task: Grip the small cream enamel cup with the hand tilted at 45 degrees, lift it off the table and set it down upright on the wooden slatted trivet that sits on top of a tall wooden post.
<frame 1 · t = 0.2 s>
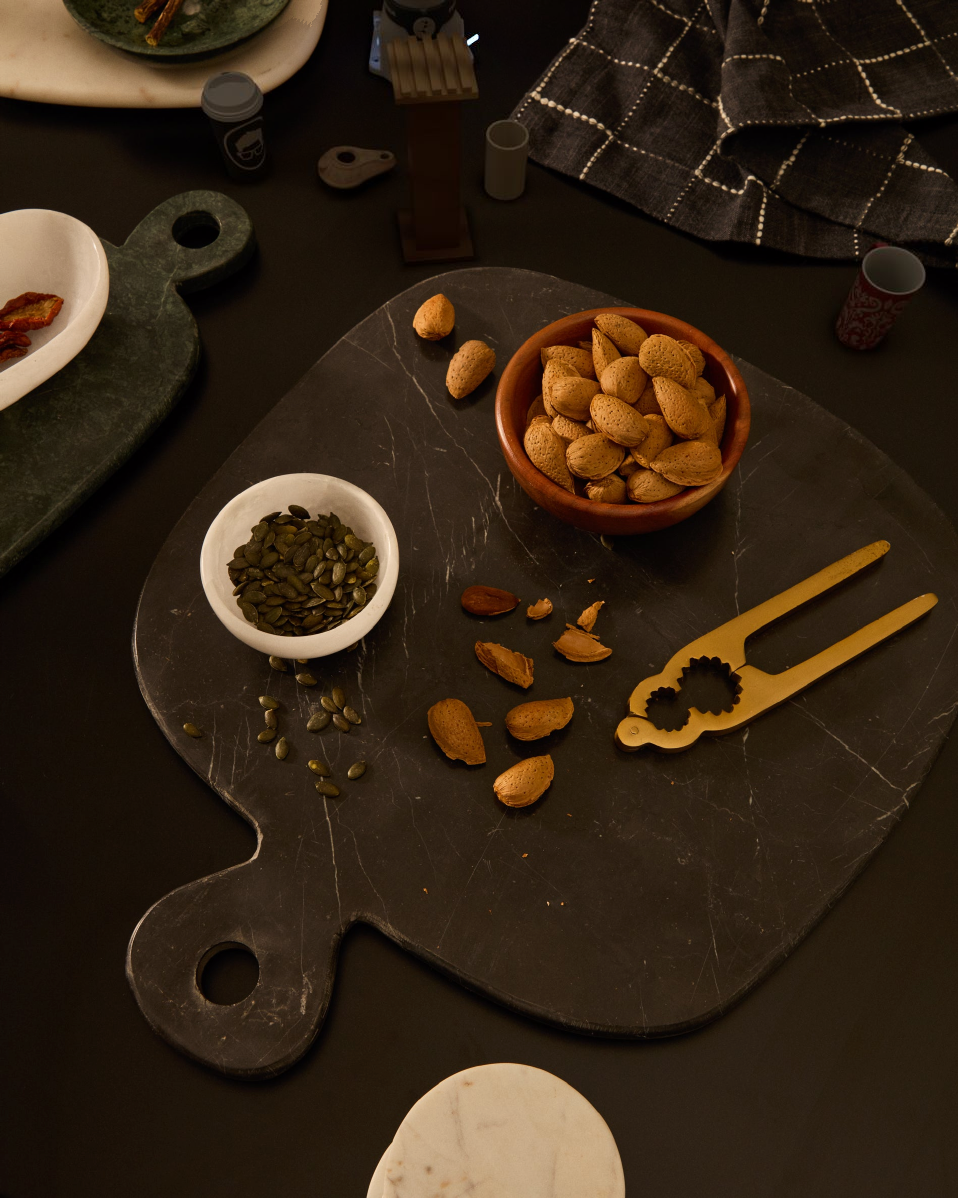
coffee cup: (248, 169, 163), on the table
wooden slatted trivet: (431, 66, 130), resting on rack stand
enamel cup: (504, 185, 163), on the table
pottery oil lamp: (358, 181, 162), on the table
rack stand: (435, 237, 157), on the table
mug: (856, 324, 152), on the table
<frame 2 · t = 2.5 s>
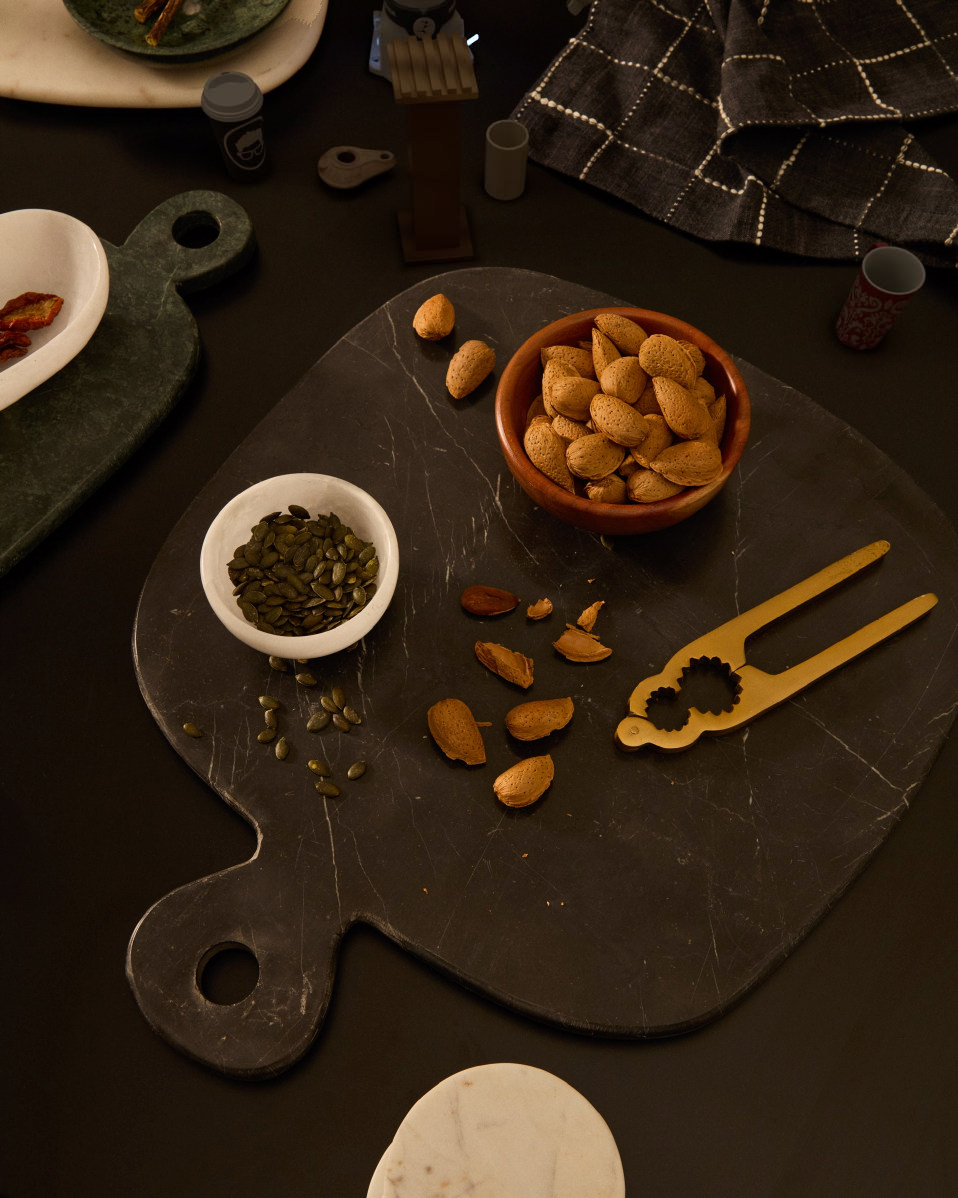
nothing on the table moved.
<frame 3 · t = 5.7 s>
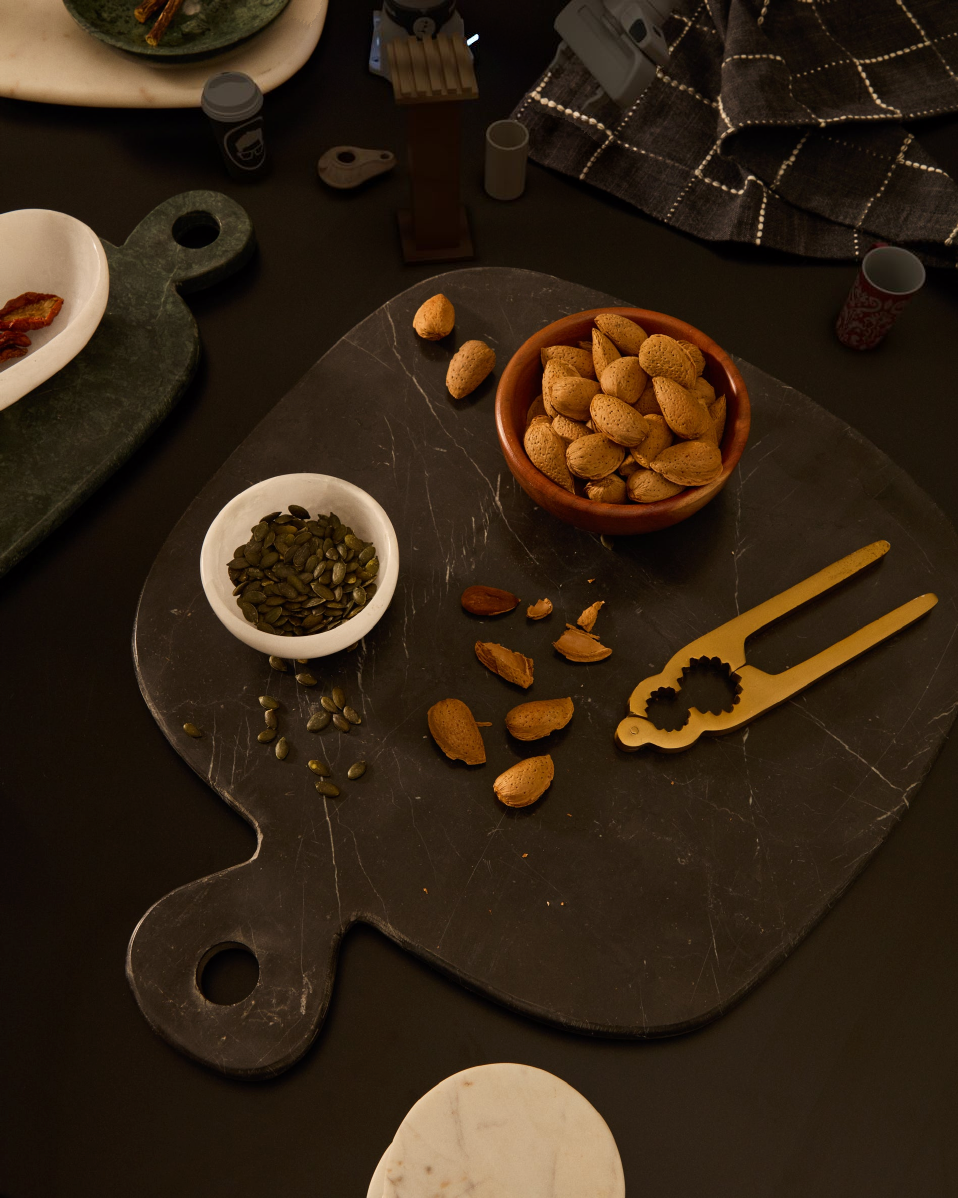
hand: (566, 92, 152), 14 cm above the table, tool tilted 45°, fingers open, 8 cm apart
nothing on the table moved.
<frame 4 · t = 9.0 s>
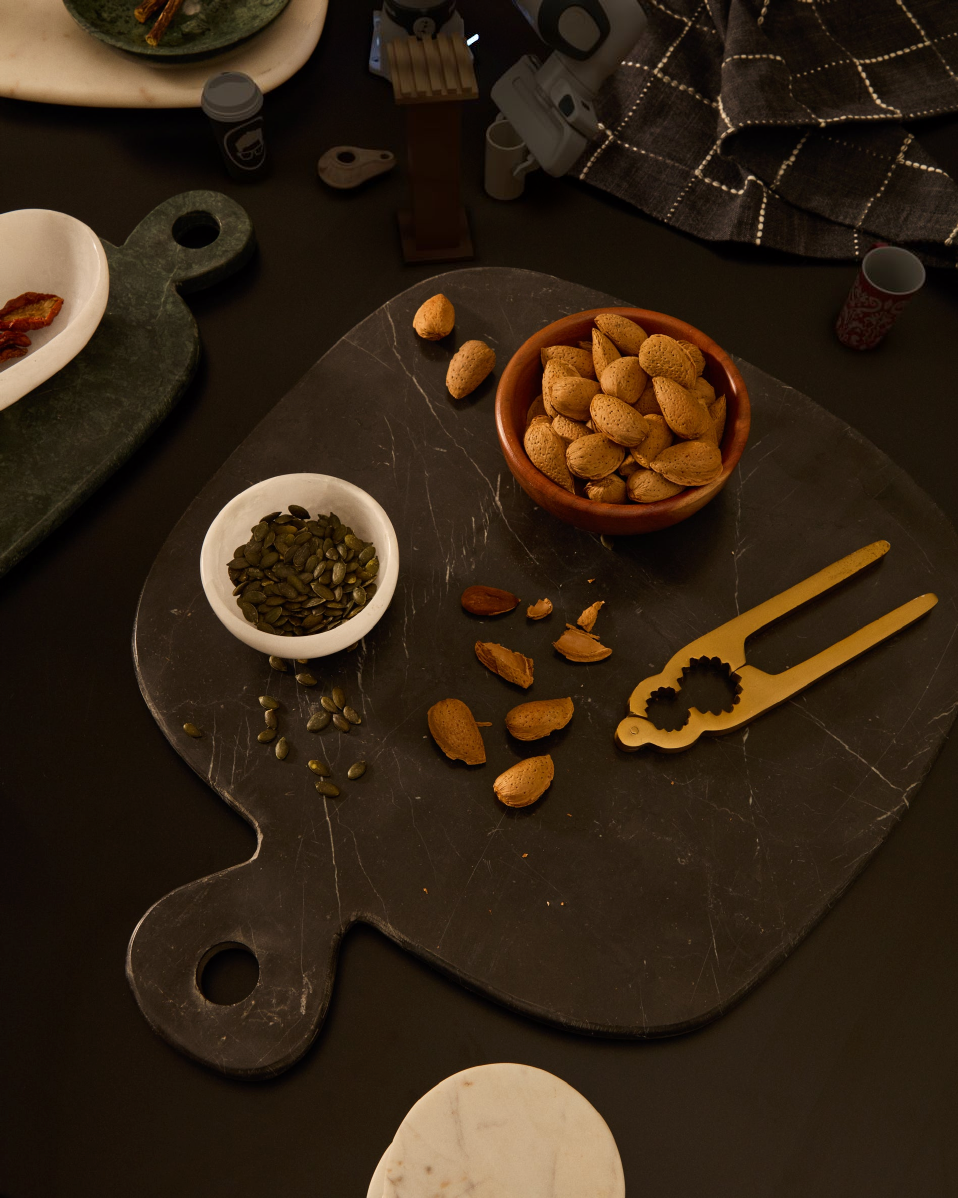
hand: (502, 159, 158), 5 cm above the table, tool tilted 45°, fingers closed on enamel cup, 7 cm apart
enamel cup: (504, 185, 163), on the table, touching gripper
everything else where it was.
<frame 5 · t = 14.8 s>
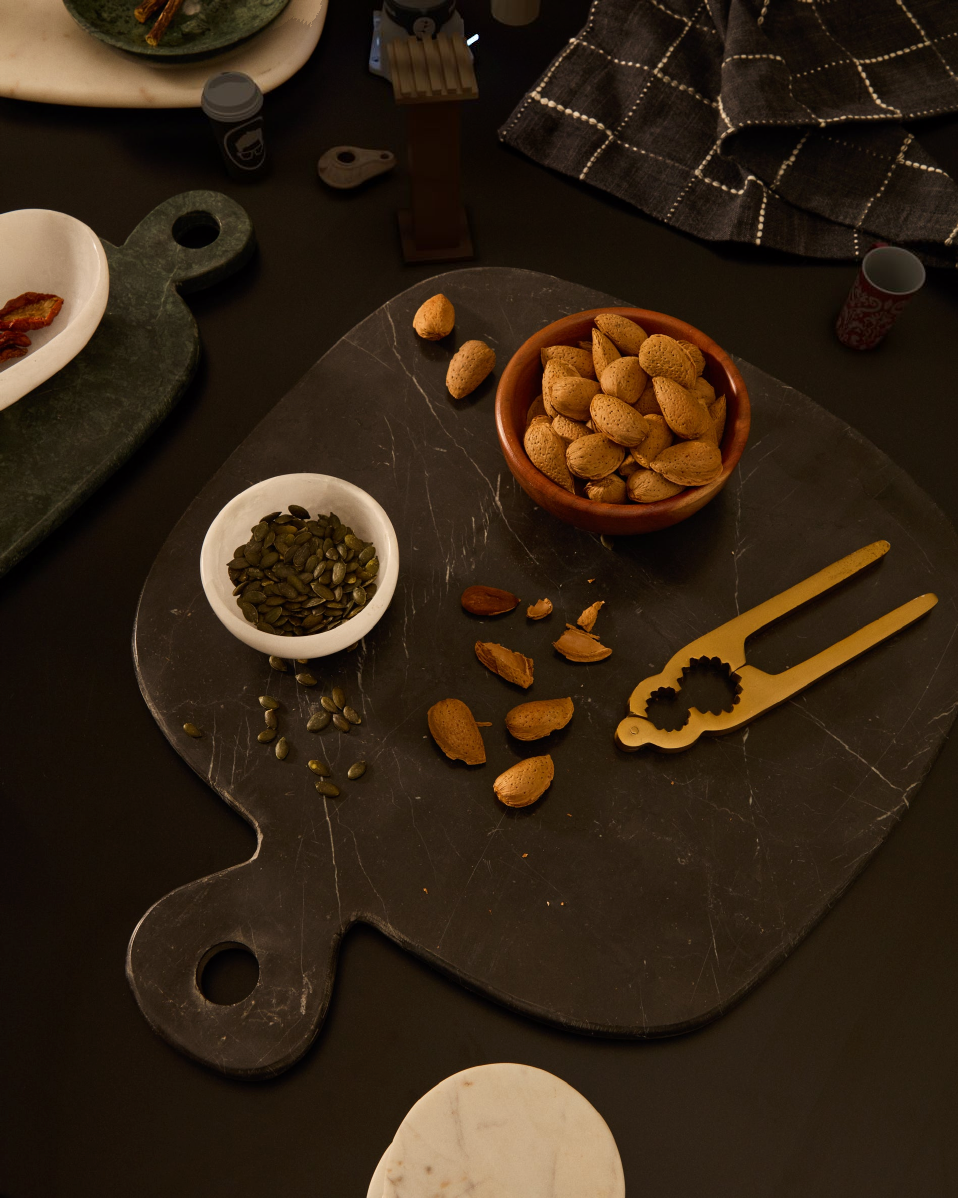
enamel cup: (514, 9, 135), point 30 cm above the table, touching gripper
everything else where it was.
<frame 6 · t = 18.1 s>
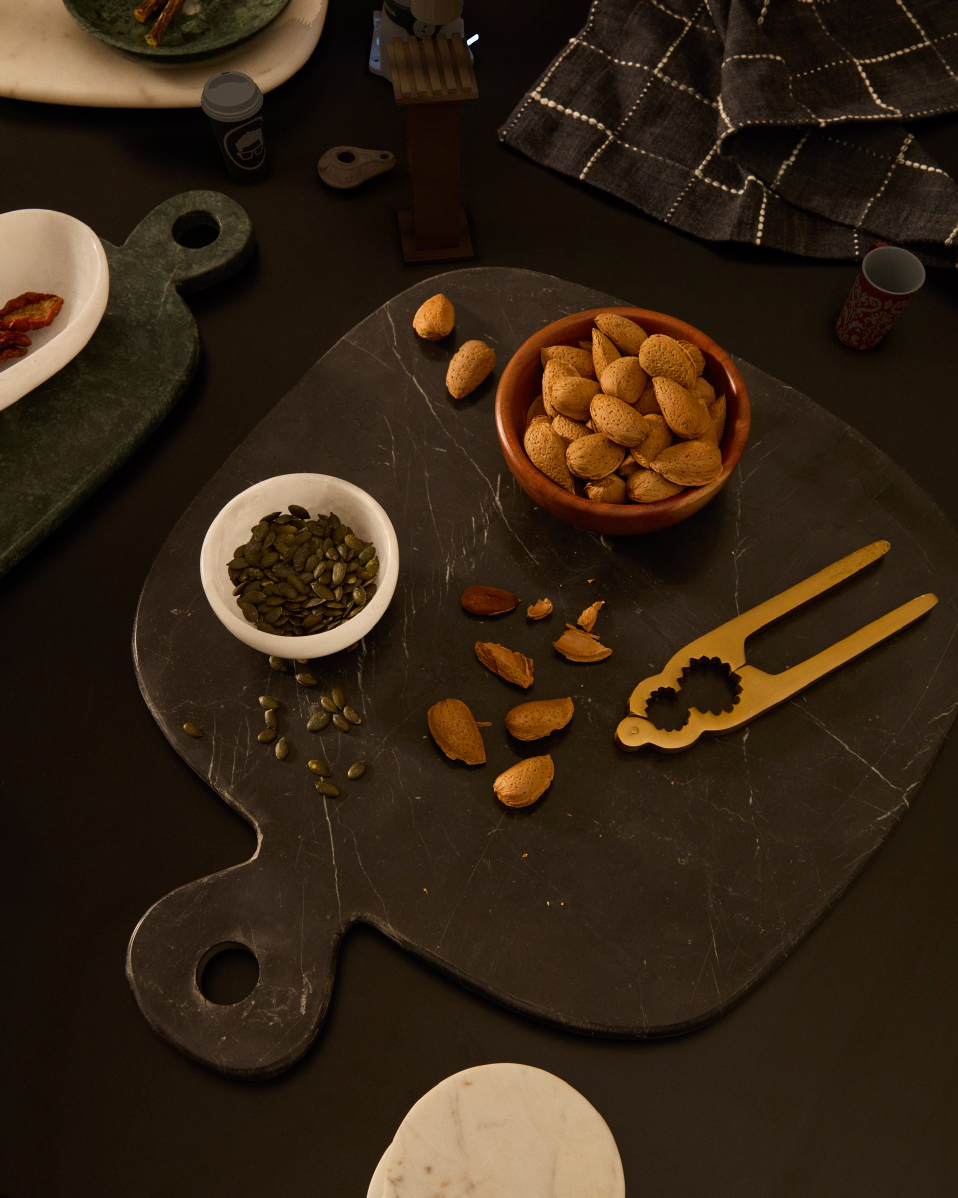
enamel cup: (436, 7, 124), point 38 cm above the table, touching gripper
everything else where it was.
when the fingers open (36 cm above the table, at t = 20.7 s): enamel cup stays where it is, resting on wooden slatted trivet.
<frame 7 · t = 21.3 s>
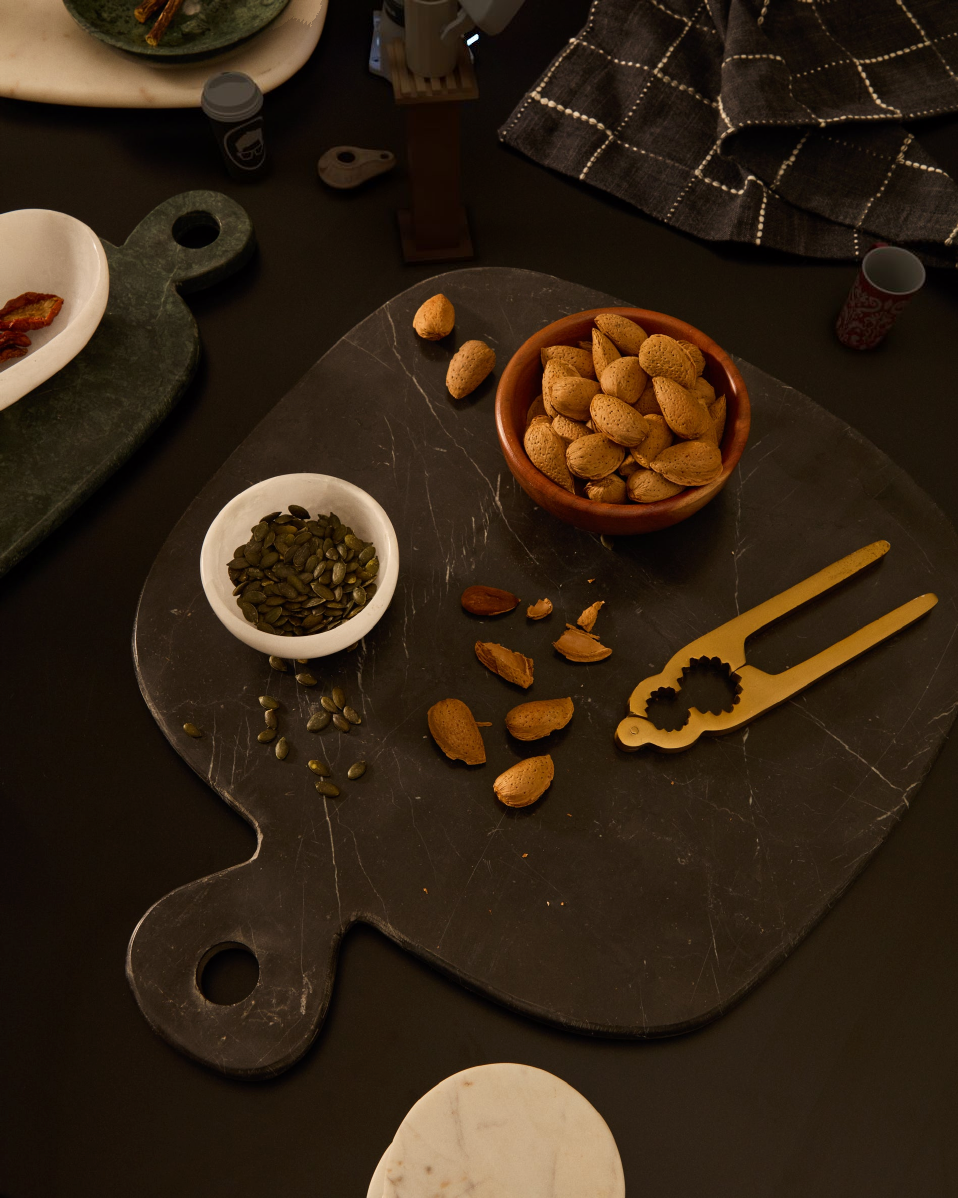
hand: (426, 18, 124), 37 cm above the table, tool tilted 45°, fingers open, 8 cm apart
enamel cup: (431, 60, 130), point 31 cm above the table, touching wooden slatted trivet
everything else where it was.
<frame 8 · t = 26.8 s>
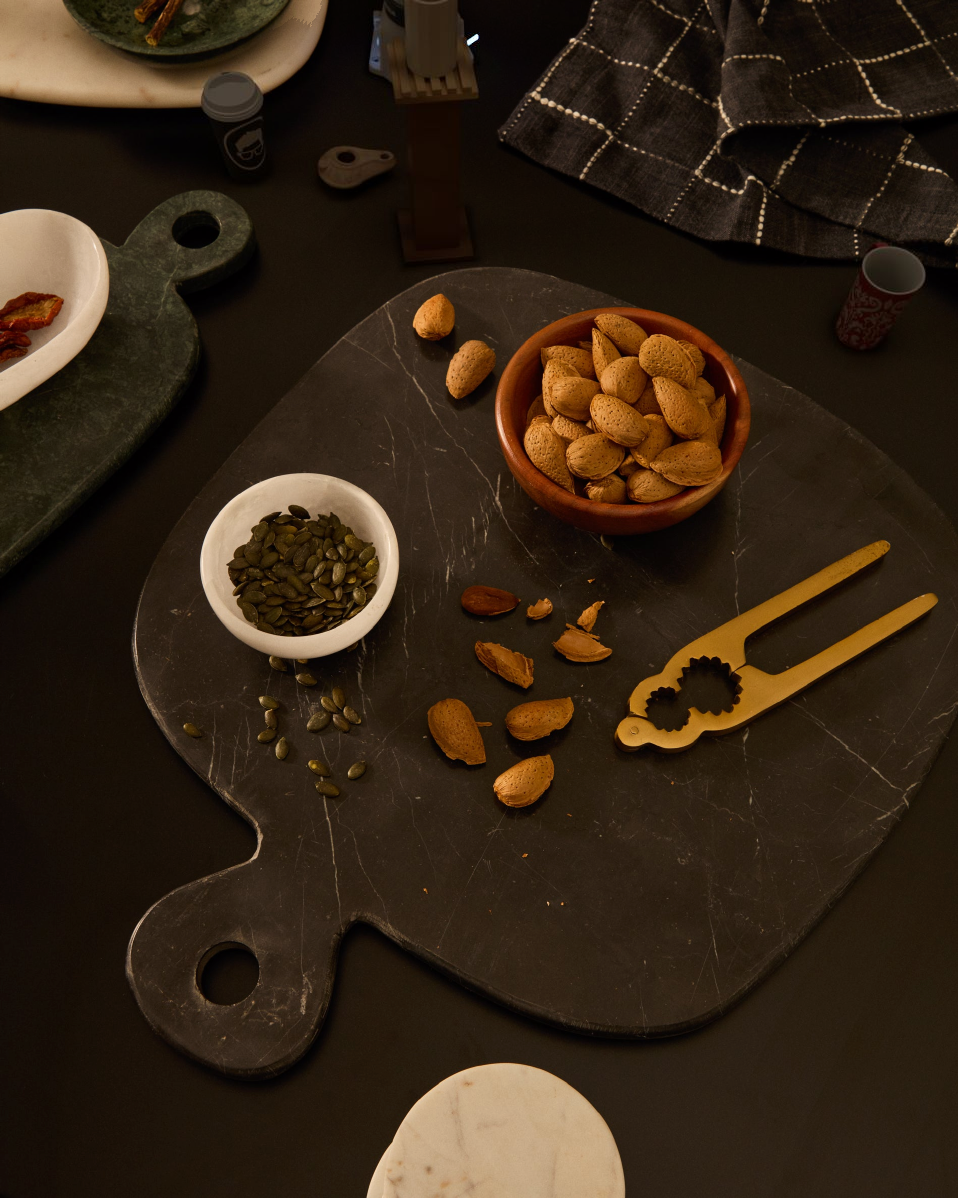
nothing on the table moved.
at the end: enamel cup inside the target area on the wooden slatted trivet (0.1 cm from its centre), point 0.8 cm above the wooden slatted trivet's base; enamel cup tilted 0°; the gripper is holding nothing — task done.
